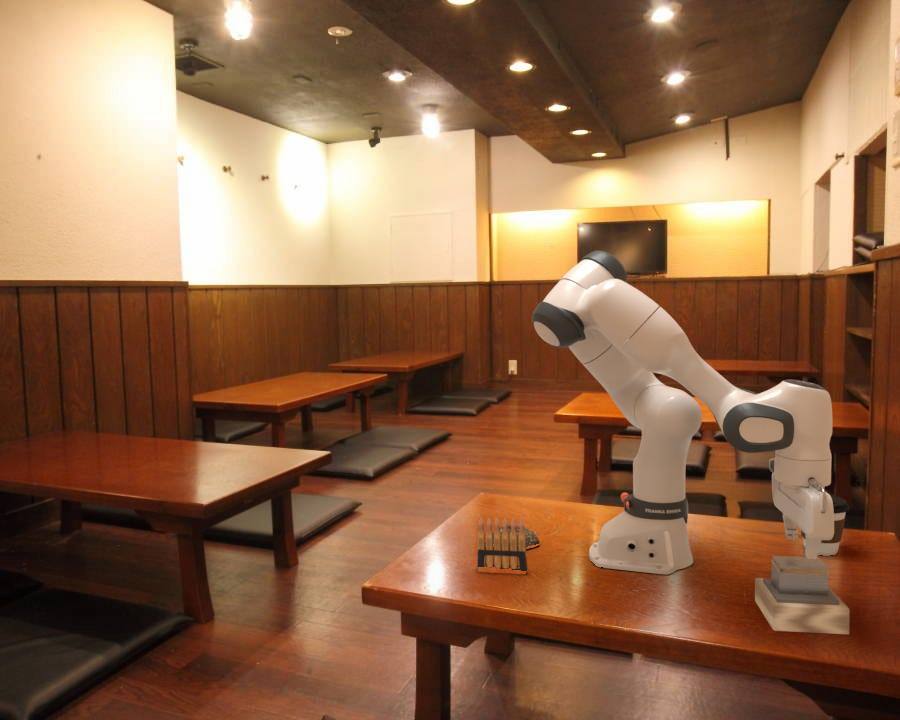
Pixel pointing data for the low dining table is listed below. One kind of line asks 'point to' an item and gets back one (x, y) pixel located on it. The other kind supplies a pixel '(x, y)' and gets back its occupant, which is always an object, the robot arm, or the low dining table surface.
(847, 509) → the coffee cup
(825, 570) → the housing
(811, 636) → the low dining table surface
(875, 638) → the low dining table surface
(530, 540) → the dark speckled curved piece
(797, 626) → the stand
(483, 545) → the ammunition clip
